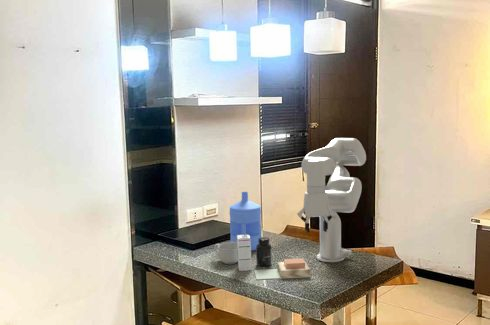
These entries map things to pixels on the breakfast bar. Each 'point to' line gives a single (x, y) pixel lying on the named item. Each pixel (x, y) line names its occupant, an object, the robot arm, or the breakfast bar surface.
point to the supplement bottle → (263, 252)
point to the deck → (293, 271)
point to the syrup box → (244, 252)
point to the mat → (269, 274)
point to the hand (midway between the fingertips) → (316, 231)
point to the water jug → (246, 220)
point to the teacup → (227, 252)
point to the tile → (294, 263)
